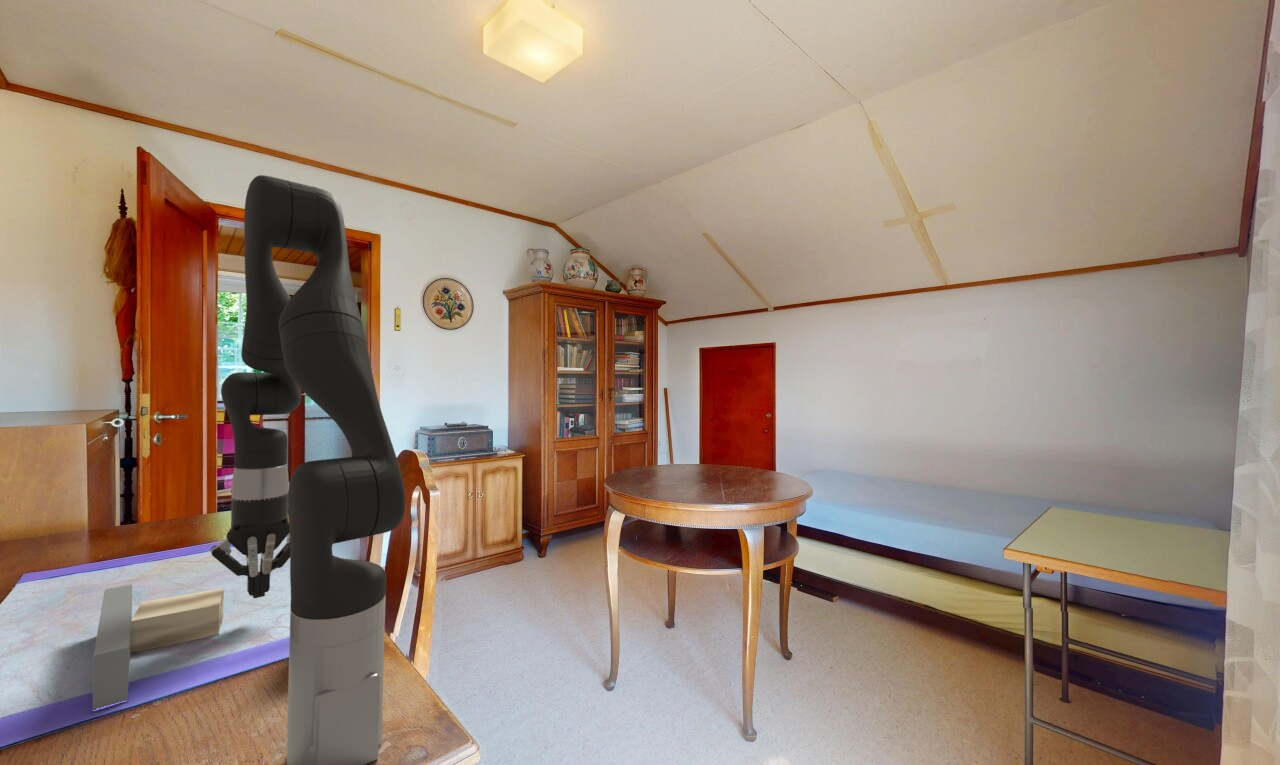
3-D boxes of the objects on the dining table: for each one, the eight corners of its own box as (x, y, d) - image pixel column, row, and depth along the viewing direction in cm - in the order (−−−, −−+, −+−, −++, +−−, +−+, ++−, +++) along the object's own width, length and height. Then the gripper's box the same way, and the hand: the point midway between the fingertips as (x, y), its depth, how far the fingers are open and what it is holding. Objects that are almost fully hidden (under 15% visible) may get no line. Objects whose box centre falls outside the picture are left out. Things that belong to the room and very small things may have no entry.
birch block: (218, 635, 79) (219, 604, 79) (130, 654, 74) (130, 620, 74) (223, 617, 85) (223, 588, 85) (141, 633, 79) (142, 601, 79)
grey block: (127, 701, 63) (128, 647, 63) (92, 712, 61) (93, 655, 61) (131, 627, 80) (132, 584, 80) (104, 633, 78) (104, 589, 78)
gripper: (210, 503, 76) (208, 616, 76) (312, 491, 85) (310, 592, 86) (206, 494, 81) (204, 599, 82) (302, 483, 91) (300, 578, 91)
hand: (258, 595), depth 84 cm, fingers closed
